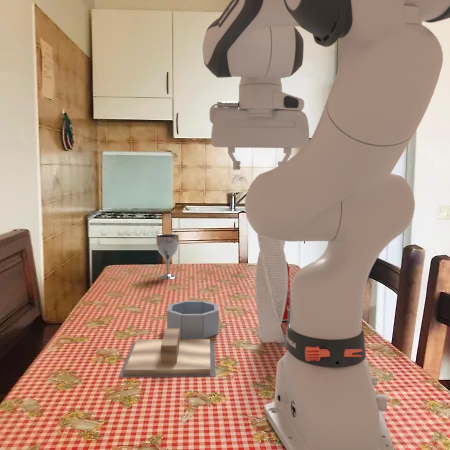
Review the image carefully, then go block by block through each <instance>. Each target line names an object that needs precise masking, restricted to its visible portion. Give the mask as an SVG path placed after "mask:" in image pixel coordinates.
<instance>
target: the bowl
mask: <svg viewBox="0 0 450 450" xmlns="http://www.w3.org/2000/svg"><path fill="white" fill-rule="evenodd" d="M219 313H220V311H219V304H217V303H213V302H210V301H206V300H183V301H182V300H181V301H178V302H174V303H170V304H169V305H168V306H167V308H166V328H180V339H208V338H211V337H212V336H216V335H219V327H220V326H219V323H220V322H219V319H220V318H219V316H220V315H219Z"/></svg>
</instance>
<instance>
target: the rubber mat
mask: <svg viewBox="0 0 450 450" xmlns="http://www.w3.org/2000/svg"><path fill="white" fill-rule="evenodd" d="M215 343H216V342H215V341H210V374H171V375H125V368H126V365H127V363H128V360H129V358H130V356H131V353H132V351H133V348H134V346H135V344H136V341H135V342H134V341H133V343H132V345H131V347H130V350H129V352H128V355H127V356H126V357H125V358H126V359H125V361H124V363H123V366H122V368H121V371H120V372H119V375H118V378H200V377H201V378H203V377H204V378H206V377H210V378H211V377H212V378H213V377H215V378H216V377H217V375H216V372H217V371H216V347H215V346H216V345H215Z"/></svg>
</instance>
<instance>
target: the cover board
mask: <svg viewBox="0 0 450 450" xmlns="http://www.w3.org/2000/svg"><path fill="white" fill-rule="evenodd" d="M135 342H136V344H135V346H134V348H133V351H132V353H131V356H130V358H129V360H128V363H127V365H126V368H125V375H171V374H210V342H211V339H210V338H205V339H180V328H167V327H166V328H165V329H164V332H163V337H162V338H161V339H160V338H157V339H156V338H155V339H142V338H141V339H139V338H138V339H136V341H135Z"/></svg>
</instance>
